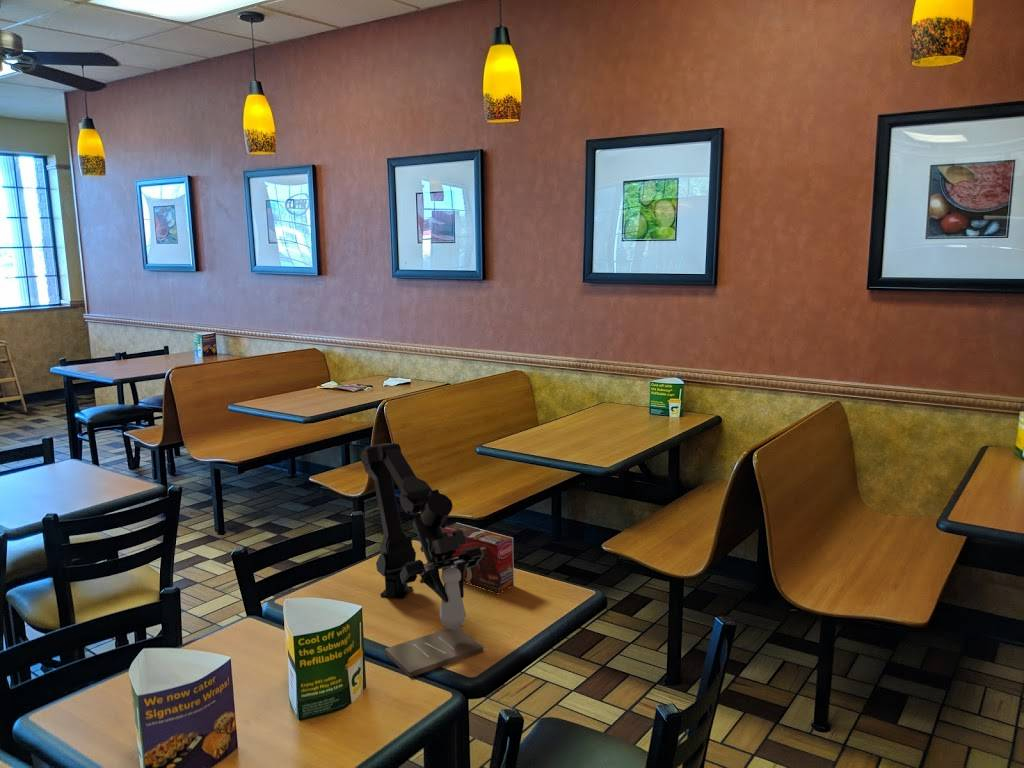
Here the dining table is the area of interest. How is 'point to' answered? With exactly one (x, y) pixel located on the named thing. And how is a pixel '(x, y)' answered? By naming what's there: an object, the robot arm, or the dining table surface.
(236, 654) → the dining table surface
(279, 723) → the dining table surface
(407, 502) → the robot arm
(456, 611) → the salt shaker
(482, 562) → the ice cream box
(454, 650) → the marked board
